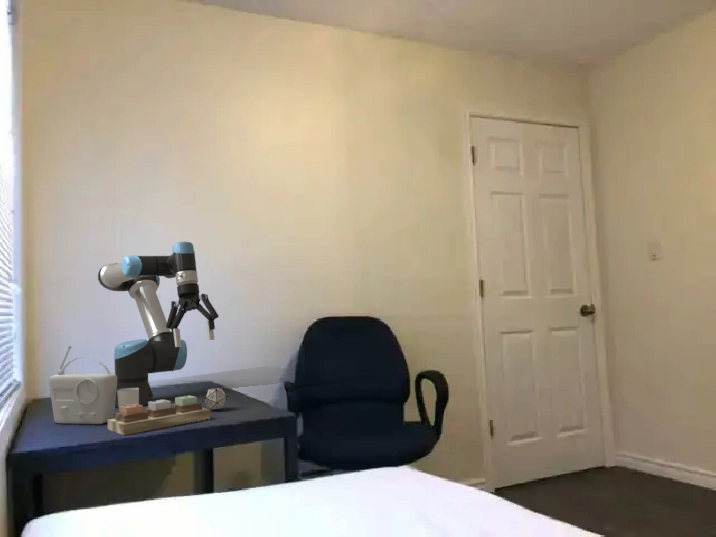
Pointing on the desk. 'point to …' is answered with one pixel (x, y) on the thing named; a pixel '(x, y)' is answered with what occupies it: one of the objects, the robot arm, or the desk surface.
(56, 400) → the radio
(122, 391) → the drinking glass
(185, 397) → the button one dot
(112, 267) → the robot arm
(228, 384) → the desk surface
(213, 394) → the game die
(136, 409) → the button three dots
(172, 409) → the button console
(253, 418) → the desk surface
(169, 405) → the button two dots
